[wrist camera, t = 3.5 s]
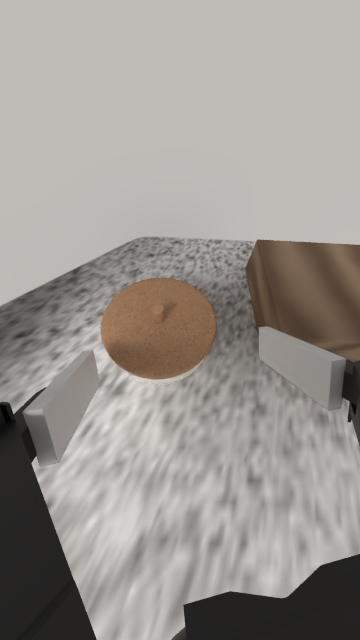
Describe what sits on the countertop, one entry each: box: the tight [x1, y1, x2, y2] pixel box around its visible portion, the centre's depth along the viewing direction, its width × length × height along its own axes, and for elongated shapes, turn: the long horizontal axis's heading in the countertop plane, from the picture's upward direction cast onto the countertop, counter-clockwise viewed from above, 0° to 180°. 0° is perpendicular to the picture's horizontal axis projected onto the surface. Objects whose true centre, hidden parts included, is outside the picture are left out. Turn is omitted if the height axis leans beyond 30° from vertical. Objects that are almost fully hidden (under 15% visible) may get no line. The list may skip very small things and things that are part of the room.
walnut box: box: [245, 240, 360, 362], centre depth 26 cm, size 16×16×6 cm
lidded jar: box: [101, 278, 216, 385], centre depth 20 cm, size 11×11×9 cm
